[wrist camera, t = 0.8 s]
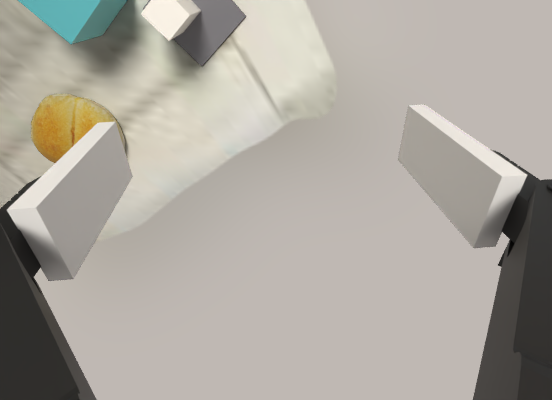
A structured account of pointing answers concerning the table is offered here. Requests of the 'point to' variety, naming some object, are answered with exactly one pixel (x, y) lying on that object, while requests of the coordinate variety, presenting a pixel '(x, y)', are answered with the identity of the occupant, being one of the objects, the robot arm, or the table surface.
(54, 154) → the bread roll
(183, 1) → the white rectangular block
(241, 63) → the table surface
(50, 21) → the teal toy brick
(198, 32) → the panel
